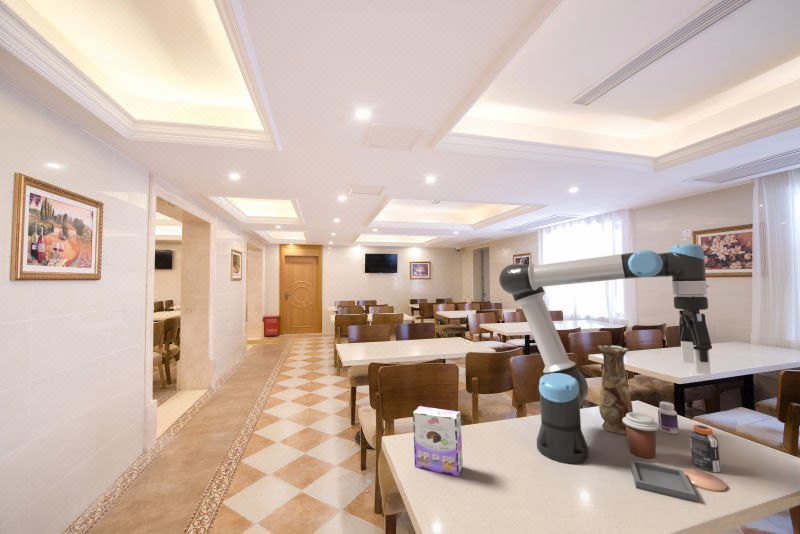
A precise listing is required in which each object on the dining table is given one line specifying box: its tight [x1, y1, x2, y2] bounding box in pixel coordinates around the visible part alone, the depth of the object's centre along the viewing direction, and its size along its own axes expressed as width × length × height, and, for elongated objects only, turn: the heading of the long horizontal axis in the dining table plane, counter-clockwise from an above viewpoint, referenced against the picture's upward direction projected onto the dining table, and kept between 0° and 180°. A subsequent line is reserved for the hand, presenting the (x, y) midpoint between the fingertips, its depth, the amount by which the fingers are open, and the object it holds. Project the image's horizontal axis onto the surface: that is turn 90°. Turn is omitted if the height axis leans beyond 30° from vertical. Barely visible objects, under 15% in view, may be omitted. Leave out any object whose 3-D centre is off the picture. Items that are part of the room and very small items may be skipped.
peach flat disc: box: [682, 468, 727, 493], centre depth 85 cm, size 9×9×1 cm
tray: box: [629, 459, 698, 504], centre depth 85 cm, size 12×12×2 cm
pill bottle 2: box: [689, 424, 721, 473], centre depth 92 cm, size 6×6×11 cm
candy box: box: [412, 405, 464, 477], centre depth 95 cm, size 14×6×16 cm, turn 65°
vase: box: [597, 344, 634, 435], centre depth 118 cm, size 10×11×30 cm
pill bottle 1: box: [657, 401, 680, 435], centre depth 114 cm, size 5×5×10 cm
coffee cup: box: [622, 411, 660, 463], centre depth 98 cm, size 9×9×12 cm
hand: (695, 367), depth 93 cm, fingers open, 13 cm apart
